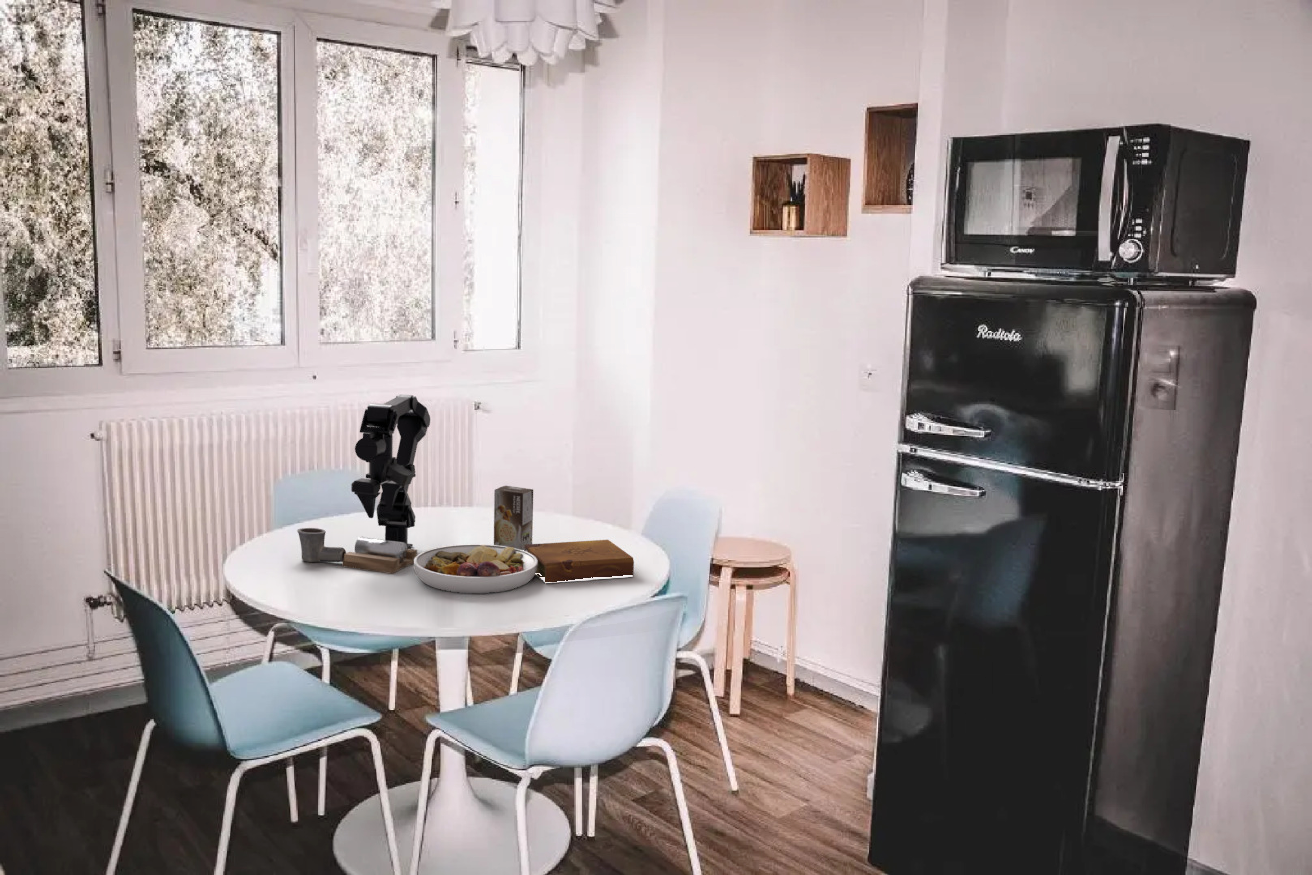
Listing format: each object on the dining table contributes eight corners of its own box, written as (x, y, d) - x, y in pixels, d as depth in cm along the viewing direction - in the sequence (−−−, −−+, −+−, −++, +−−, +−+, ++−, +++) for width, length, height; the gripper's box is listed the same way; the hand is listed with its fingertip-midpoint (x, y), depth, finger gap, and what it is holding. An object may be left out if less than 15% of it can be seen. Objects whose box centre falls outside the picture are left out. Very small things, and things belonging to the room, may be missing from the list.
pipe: (339, 567, 294) (339, 536, 293) (291, 562, 297) (291, 531, 295) (350, 561, 300) (350, 530, 299) (303, 556, 302) (303, 525, 301)
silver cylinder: (365, 553, 303) (364, 534, 302) (407, 559, 299) (406, 540, 298) (354, 558, 298) (354, 539, 297) (397, 564, 295) (397, 545, 294)
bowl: (402, 567, 298) (402, 536, 297) (516, 559, 310) (517, 530, 309) (429, 602, 271) (429, 569, 270) (553, 592, 283) (554, 560, 282)
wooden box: (545, 587, 288) (546, 564, 287) (523, 566, 305) (524, 544, 304) (633, 579, 297) (634, 557, 296) (607, 559, 314) (608, 538, 313)
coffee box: (533, 546, 322) (535, 489, 319) (522, 551, 316) (523, 493, 314) (503, 542, 325) (505, 484, 323) (492, 547, 320) (493, 489, 317)
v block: (369, 554, 307) (369, 542, 307) (418, 560, 303) (418, 549, 303) (342, 566, 295) (342, 554, 294) (392, 573, 291) (392, 561, 290)
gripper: (390, 463, 287) (390, 525, 289) (427, 451, 304) (426, 510, 307) (350, 458, 290) (350, 520, 292) (388, 446, 307) (388, 505, 310)
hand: (380, 514), depth 300 cm, fingers open, 9 cm apart
